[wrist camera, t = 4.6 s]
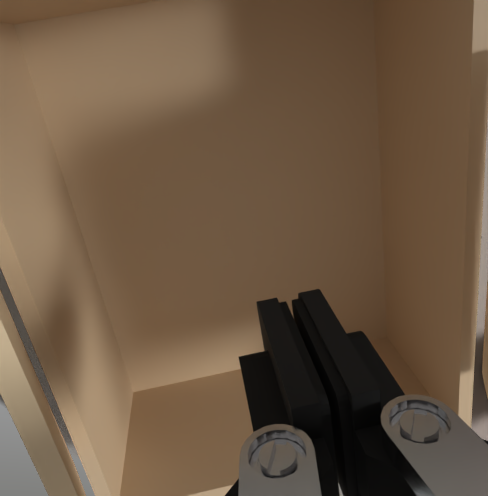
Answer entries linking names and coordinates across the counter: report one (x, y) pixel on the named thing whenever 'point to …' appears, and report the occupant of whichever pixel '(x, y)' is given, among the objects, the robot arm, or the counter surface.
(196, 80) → the carton
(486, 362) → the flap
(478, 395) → the counter surface
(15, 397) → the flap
